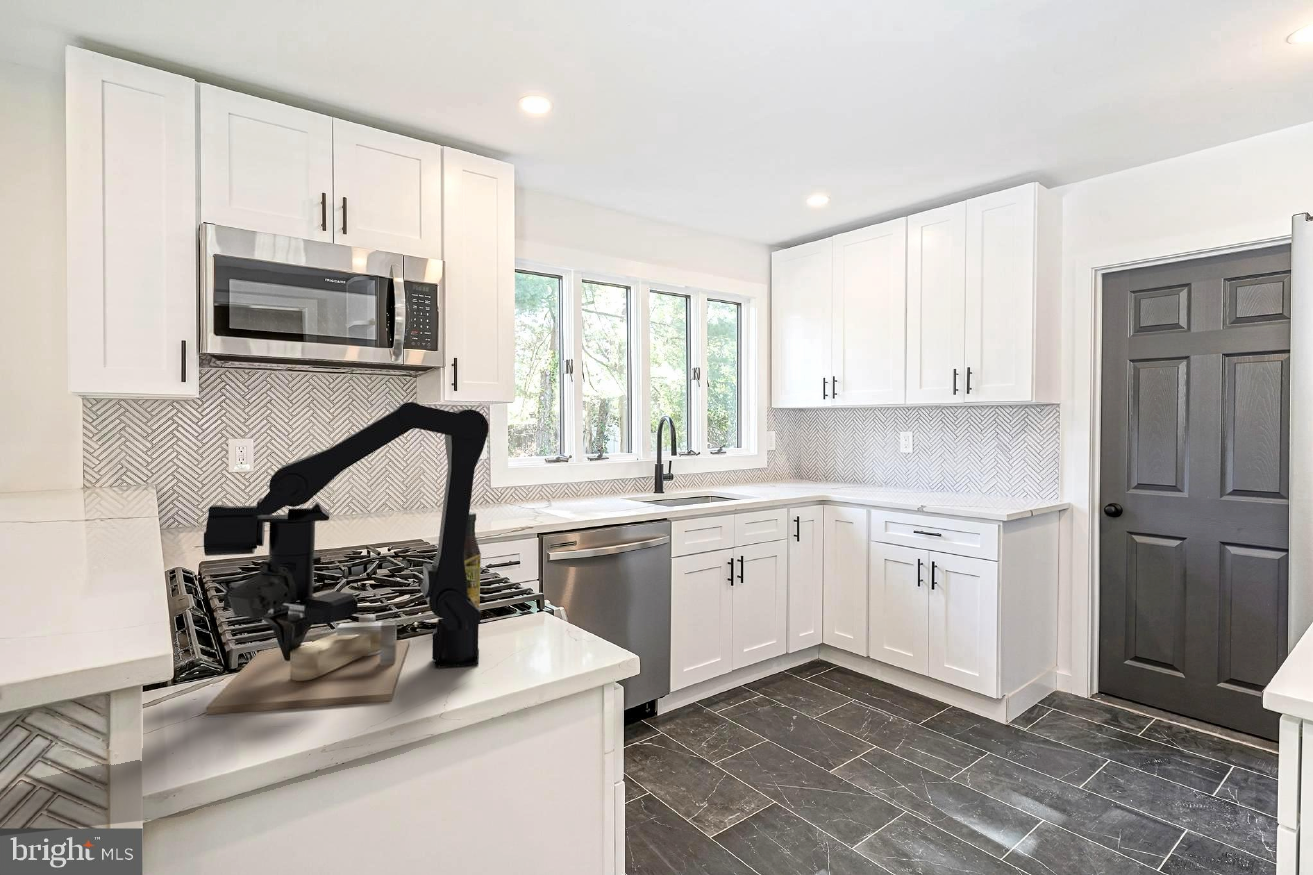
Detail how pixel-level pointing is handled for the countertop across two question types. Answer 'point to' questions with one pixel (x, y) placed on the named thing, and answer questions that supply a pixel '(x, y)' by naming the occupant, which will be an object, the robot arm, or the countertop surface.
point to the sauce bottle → (472, 561)
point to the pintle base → (348, 684)
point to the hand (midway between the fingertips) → (289, 660)
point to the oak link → (330, 654)
